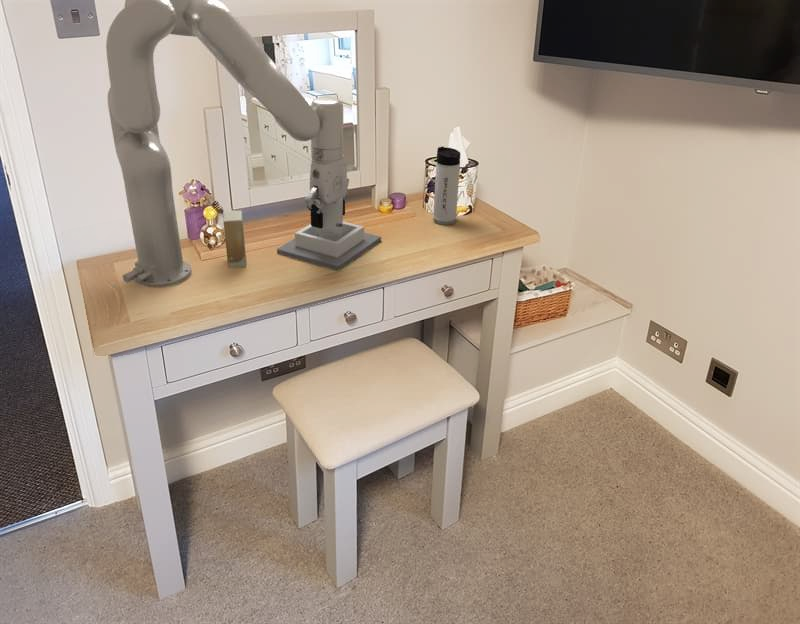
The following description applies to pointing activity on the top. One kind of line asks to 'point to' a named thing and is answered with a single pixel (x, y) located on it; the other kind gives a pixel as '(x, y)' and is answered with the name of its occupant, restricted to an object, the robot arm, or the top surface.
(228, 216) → the skincare box
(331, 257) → the duct collar
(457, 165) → the travel mug
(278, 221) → the top surface
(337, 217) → the skincare box
